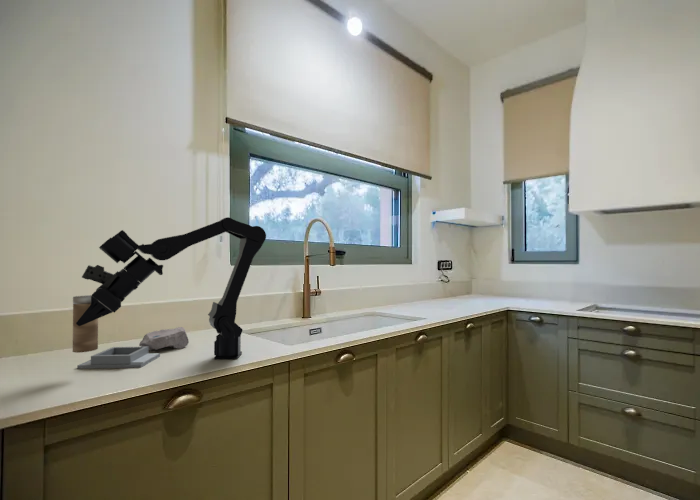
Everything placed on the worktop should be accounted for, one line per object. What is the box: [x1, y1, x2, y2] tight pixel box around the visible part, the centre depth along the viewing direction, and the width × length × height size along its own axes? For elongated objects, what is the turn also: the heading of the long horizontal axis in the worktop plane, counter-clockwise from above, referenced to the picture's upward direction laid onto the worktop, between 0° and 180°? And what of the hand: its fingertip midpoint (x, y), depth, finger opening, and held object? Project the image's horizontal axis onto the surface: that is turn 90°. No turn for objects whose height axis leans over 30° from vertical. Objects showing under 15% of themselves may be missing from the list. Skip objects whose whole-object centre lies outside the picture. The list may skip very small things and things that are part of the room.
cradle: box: [76, 346, 161, 370], centre depth 102 cm, size 16×11×3 cm
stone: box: [138, 326, 190, 351], centre depth 118 cm, size 13×10×6 cm
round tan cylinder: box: [72, 294, 99, 354], centre depth 90 cm, size 5×5×13 cm
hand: (78, 323), depth 89 cm, fingers closed on round tan cylinder, 5 cm apart
